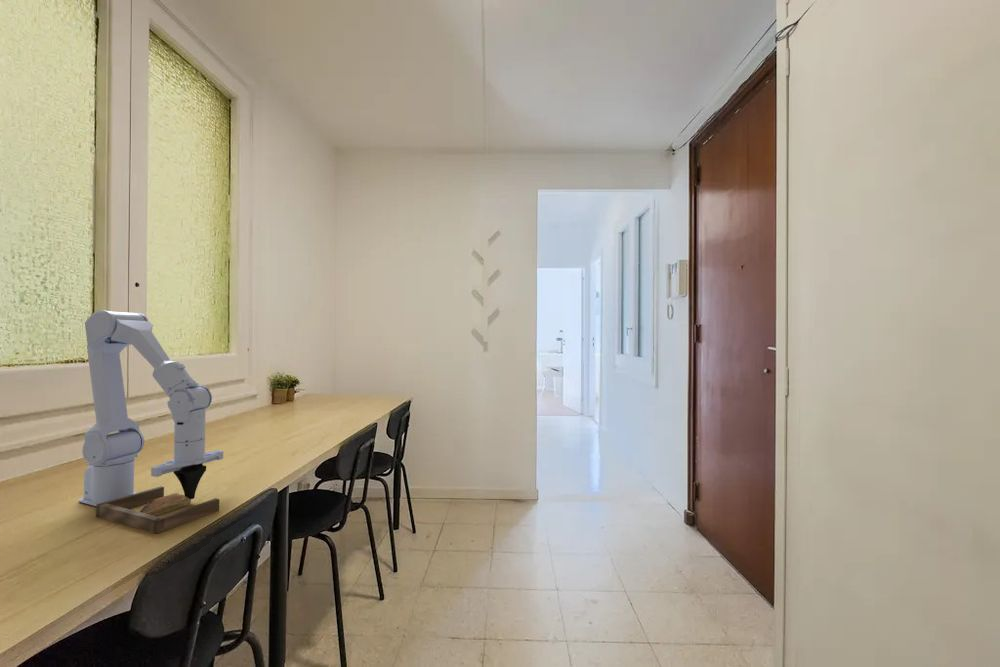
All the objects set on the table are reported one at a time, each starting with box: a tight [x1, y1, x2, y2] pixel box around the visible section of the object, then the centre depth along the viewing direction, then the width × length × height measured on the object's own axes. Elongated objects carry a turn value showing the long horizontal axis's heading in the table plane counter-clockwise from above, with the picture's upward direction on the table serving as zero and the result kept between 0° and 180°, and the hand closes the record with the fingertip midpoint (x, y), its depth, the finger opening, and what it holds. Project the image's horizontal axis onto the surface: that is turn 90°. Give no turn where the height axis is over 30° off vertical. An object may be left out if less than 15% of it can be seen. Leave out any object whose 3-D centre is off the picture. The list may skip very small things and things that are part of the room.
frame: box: [95, 485, 220, 535], centre depth 90 cm, size 20×12×2 cm, turn 69°
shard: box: [139, 492, 192, 516], centre depth 92 cm, size 11×8×2 cm
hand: (189, 498), depth 96 cm, fingers closed, pressing on shard
